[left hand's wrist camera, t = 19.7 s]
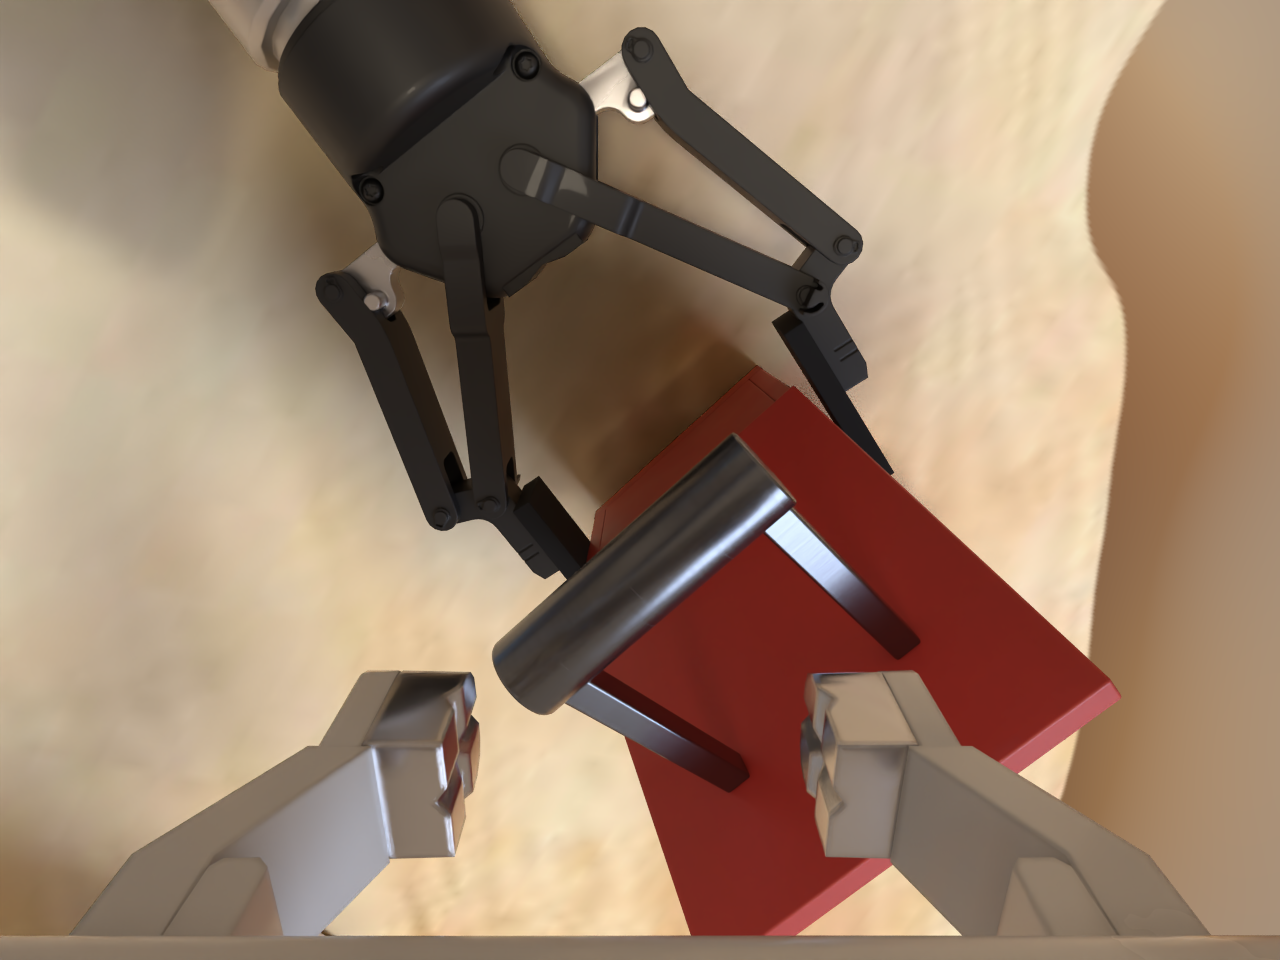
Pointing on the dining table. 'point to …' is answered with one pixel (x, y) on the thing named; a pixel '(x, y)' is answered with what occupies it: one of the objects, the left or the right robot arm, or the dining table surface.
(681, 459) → the chest
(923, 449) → the dining table surface
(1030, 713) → the lid
